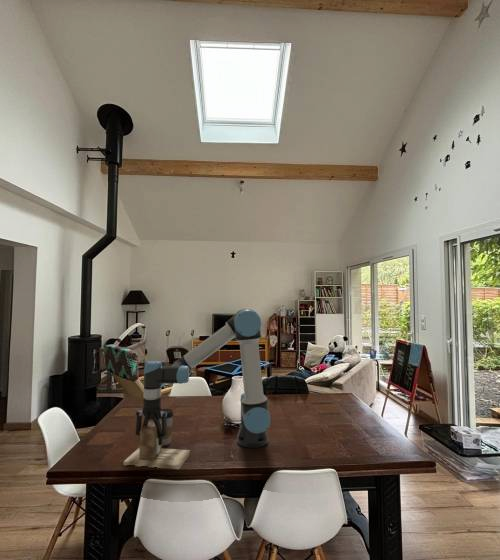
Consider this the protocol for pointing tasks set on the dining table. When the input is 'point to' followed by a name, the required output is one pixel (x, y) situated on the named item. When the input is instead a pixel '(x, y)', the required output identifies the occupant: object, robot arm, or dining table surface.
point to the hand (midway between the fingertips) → (150, 451)
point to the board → (160, 459)
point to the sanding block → (148, 441)
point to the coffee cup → (169, 418)
